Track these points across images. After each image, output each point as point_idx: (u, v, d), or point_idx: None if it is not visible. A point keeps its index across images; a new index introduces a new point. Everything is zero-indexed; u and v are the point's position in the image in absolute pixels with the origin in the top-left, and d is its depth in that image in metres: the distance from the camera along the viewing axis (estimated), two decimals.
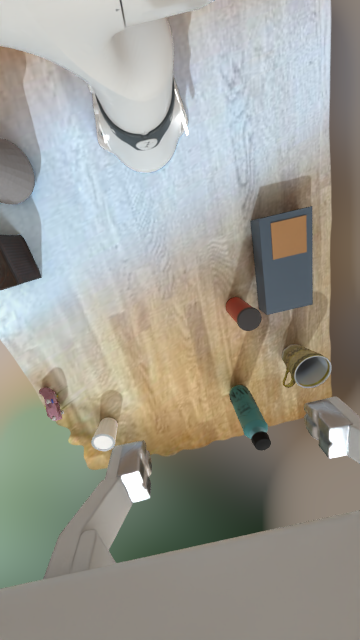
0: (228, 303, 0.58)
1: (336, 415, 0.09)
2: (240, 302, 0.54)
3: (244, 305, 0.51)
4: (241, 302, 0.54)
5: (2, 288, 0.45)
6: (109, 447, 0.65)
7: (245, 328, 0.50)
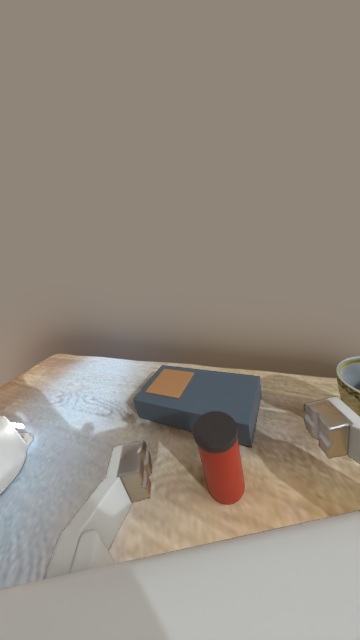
0: (208, 487, 0.30)
1: (336, 415, 0.09)
2: None
3: None
4: None
5: None
6: None
7: (226, 440, 0.25)
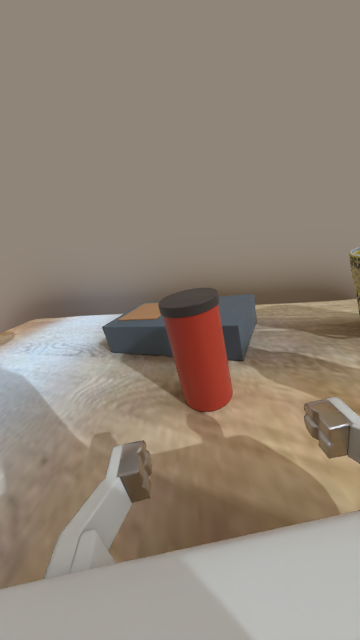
0: (184, 393, 0.22)
1: (336, 415, 0.09)
2: None
3: None
4: None
5: None
6: None
7: (202, 299, 0.18)
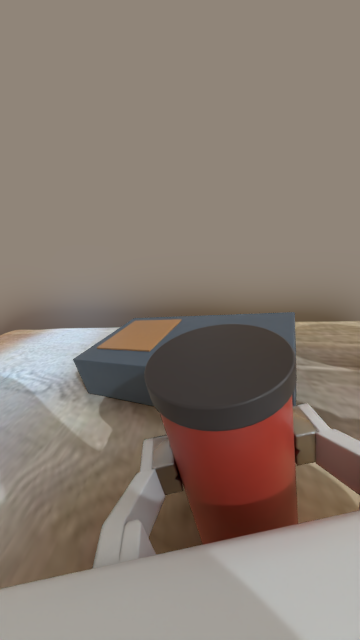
0: (201, 538, 0.11)
1: (304, 422, 0.09)
2: None
3: None
4: None
5: None
6: None
7: (262, 378, 0.06)
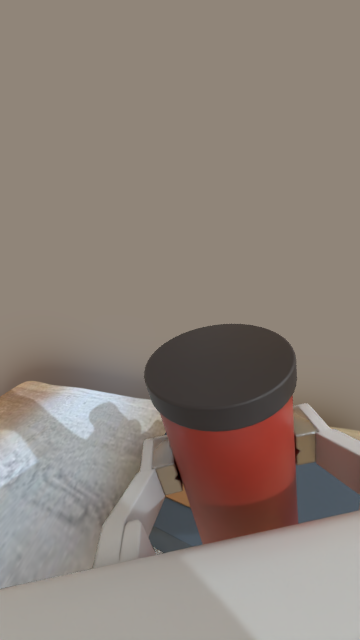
0: (201, 538, 0.11)
1: (304, 422, 0.09)
2: None
3: None
4: None
5: None
6: None
7: (262, 378, 0.06)
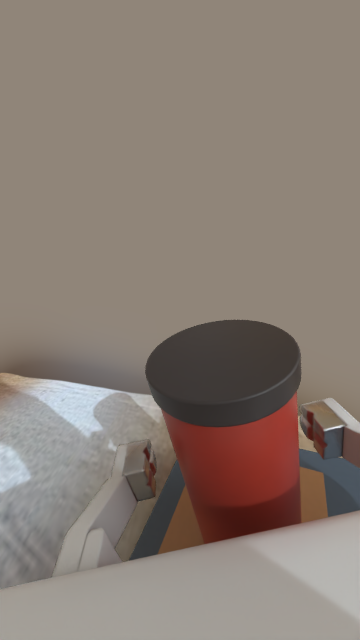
0: (203, 537, 0.11)
1: (331, 416, 0.09)
2: None
3: None
4: None
5: None
6: None
7: (266, 372, 0.06)
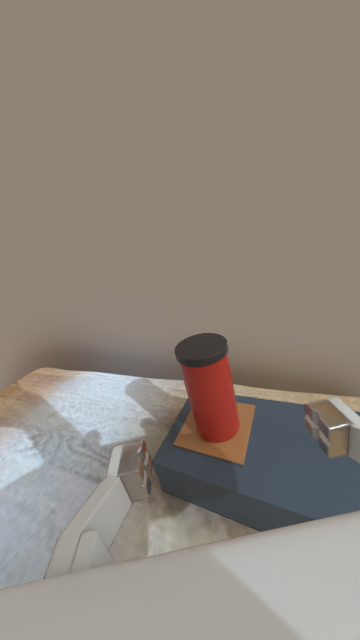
0: (196, 425, 0.25)
1: (336, 415, 0.09)
2: None
3: None
4: None
5: None
6: None
7: (213, 351, 0.21)
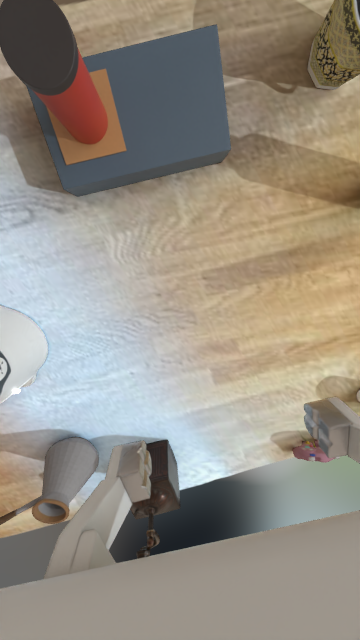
0: (74, 136, 0.26)
1: (336, 415, 0.09)
2: None
3: None
4: None
5: (172, 489, 0.45)
6: None
7: (67, 56, 0.17)
